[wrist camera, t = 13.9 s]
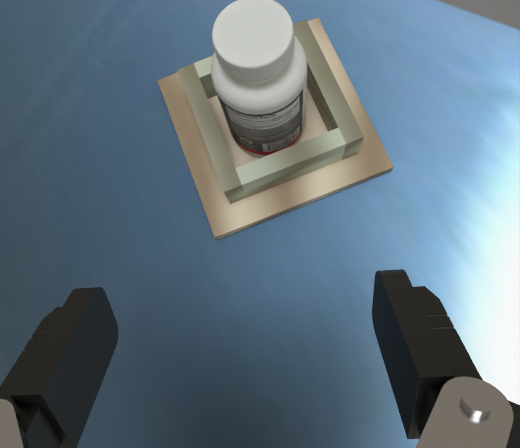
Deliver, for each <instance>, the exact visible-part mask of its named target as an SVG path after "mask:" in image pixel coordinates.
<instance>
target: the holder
mask: <svg viewBox="0 0 520 448" xmlns="http://www.w3.org/2000/svg"><path fill="white" fill-rule="evenodd" d="M293 29H294V36H295V37H296V38H297V39H298V40H299V42H300V43H301V45H302V47H303V49H304V52H305V55H306V59H307V85H306V115H305V127H304V131H303V134H302V136H301V138H300V140H299V141H298V143H297V144H295V145H293V146H290V147H288V148H285V149H283V150H280V151H278V152H275V153H273V154H270V155H268V156H265V157H262V158H261V157H255V156H252V155H250V154H248V153H247V152H245V151H244V150H242V149H241V148H240V147H239V146H238V145H237V144H236V142H235V141H234V139H233V137H232V135H231V132H230V130H229V127H228V124H227V121H226V118H225V115H224V112H223V110H222V107H221V104H220V102H219V99H218V96H217V94H216V91H215V89H214V86H213V82H212V77H211V62H212V57H213V56H211V57H208V58H206V59H203V60H201V61H198V62H195V63H193V64H190V65H188V66H185V67H183V68H180V69H178V70H177V71H178V73H175V74H173V75H170V76H168V77H165V78H163V79H160V80H158V83H159V86H160V89H161V91H162V94H163V97H164V100H165V102H166V105H167V108H168V111H169V113H170V116H171V119H172V122H173V124H174V127H175V130H176V133H177V135H178V138H179V141H180V144H181V146H182V149H183V152H184V155H185V157H186V160H187V163H188V166H189V168H190V171H191V174H192V177H193V179H194V182H195V185H196V188H197V190H198V193H199V196H200V199H201V201H202V204H203V207H204V210H205V212H206V215H207V218H208V221H209V223H210V226H211V229H212V232H213V234H214V237H215V238H216V239H217V240H218V239H221V238H223V237H226V236H228V235H231V234H233V233H236V232H238V231H241V230H243V229H246V228H248V227H251V226H253V225H256V224H258V223H261V222H264V221H266V220H269V219H271V218H274V217H276V216H279V215H281V214H284V213H286V212H289V211H291V210H294V209H296V208H299V207H302V206H304V205H307V204H309V203H312V202H314V201H317V200H319V199H322V198H324V197H327V196H329V195H332V194H334V193H337V192H339V191H342V190H345V189H347V188H350V187H352V186H355V185H357V184H360V183H362V182H365V181H367V180H370V179H372V178H375V177H377V176H380V175H382V174H385V173H388V172H390V171H391V170H392V169H393V165H392V163H391V161H390V159H389V157H388V155H387V153H386V151H385V149H384V147H383V145H382V143H381V141H380V139H379V137H378V135H377V133H376V131H375V129H374V127H373V125H372V123H371V121H370V119H369V117H368V115H367V113H366V111H365V109H364V107H363V105H362V103H361V102H360V100H359V98H358V96H357V94H356V92H355V90H354V88H353V86H352V84H351V82H350V80H349V78H348V76H347V74H346V72H345V70H344V68H343V66H342V64H341V62H340V60H339V58H338V56H337V54H336V52H335V50H334V48H333V46H332V44H331V42H330V40H329V38H328V36H327V34H326V32H325V30H324V28H323V26H322V24H321V22H320V20H319V18H316V19H313V20H311V21H308V22H307V20H306V19H305V20H302V21H300V22H297V23H295V24H293Z"/></svg>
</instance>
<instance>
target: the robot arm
mask: <svg viewBox="0 0 520 448" xmlns="http://www.w3.org/2000/svg"><path fill="white" fill-rule="evenodd" d="M372 318H373V326H374V331H375V334H376V337H377V341H378V344H379V347H380V350H381V354H382V357H383V360H384V363H385V367H386V370H387V373H388V376H389V380H390V383H391V386H392V390H393V393H394V396H395V399H396V403H397V406H398V409H399V412H400V416H401V419H402V422H403V425H404V429H405V432H406V435H407V439H419V438H420V439H419V441H418V444H417V446H416V448H520V405H518V404H515V403H513V402H510V401H508V400H507V399H506V397H505V396H504V395H503V394H502V393H501V392H500V391H499V390H498V389H496V388H495V387H494V386H492V385H491V384H489V383H487V382H485V381H483V380H482V378H481V376H480V375H479V373H478V371H477V369H476V367H475V365H474V363H473V362H472V360H471V358H470V356H469V354H468V352H467V350H466V348H465V346H464V345H463V343H462V341H461V339H460V337H459V335H458V333H457V331H456V330H455V329H454V326H453V324H452V322H451V320H450V318H449V317H447V313H446V311H445V309H444V307H443V305H442V303H441V301H440V299H439V298H438V297H437V296H435V295H434V294H433V293H432V292H431V291H430V290H428V289H427V288H426V287H425V286H422V287H412V285H411V282H410V280H409V278H408V276H407V274H406V272H405V271H404V270H403V269H401V270H384V271H377V272H376V274H375V283H374V295H373V306H372ZM32 336H33V338H32V339H30V340H29V342H28V343H27V345H26V347H25V351H22V353H21V355H20V356H19V358H18V359H17V361H16V363H15V364H14V366H13V367H12V369H11V371H10V372H9V374H8V375H7V377H6V379H5V380H4V382H3V383H2V385H1V386H0V448H77V445H78V443H79V440H80V437H81V435H82V432H83V430H84V427H85V425H86V422H87V419H88V417H89V414H90V412H91V409H92V407H93V404H94V401H95V399H96V396H97V394H98V391H99V389H100V386H101V383H102V381H103V378H104V376H105V373H106V371H107V368H108V365H109V363H110V360H111V358H112V355H113V353H114V350H115V347H116V345H117V341H118V325H117V322H116V319H115V317H114V314H113V311H112V309H111V306H110V303H109V301H108V298H107V296H106V293H105V291H104V289H103V288H101V287H96V288H80V289H74V290H73V291H72V292H71V294H70V295H69V297H68V299H67V300H66V302H65V304H64V305H63V307H57V308H55V309H54V310H53V311H52V312H51V313H50V314H49V315H48V316H47V317H45V318H44V319H43V320H42V321H41V323H40V324H39V326H38V327H37V329H36V331H35V332H34V334H33V335H32Z"/></svg>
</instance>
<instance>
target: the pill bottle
mask: <svg viewBox="0 0 520 448" xmlns="http://www.w3.org/2000/svg"><path fill="white" fill-rule="evenodd" d="M212 40H213V46H214V50H215V52H214V54H213V57H212V62H211V77H212V82H213V86H214V89H215V91H216V94H217V96H218V99H219V102H220V104H221V107H222V110H223V112H224V115H225V118H226V121H227V124H228V127H229V130H230V132H231V135H232V137H233V139H234V141H235V142H236V144H237V145H238V146H239V147H240V148H241V149H242V150H244V151H245V152H247V153H248V154H250V155H252V156H255V157H261V158H262V157H265V156H268V155H270V154H273V153H275V152H278V151H280V150H283V149H285V148H288V147H290V146H293V145H295V144H297V143H298V141H299V140H300V138H301V136H302V134H303V131H304V127H305V115H306V85H307V59H306V55H305V52H304V49H303V47H302V45H301V43H300V42H299V40H298V39H297V38H296V37H295V36H294V29H293V24H292V20H291V17H290V15H289V14H288V12H287V11H286V10H285V8H284V7H283V6H281V5H280V4H279V3H277V2H275V1H274V0H237V1H235V2H233V3H231V4H230V5H228V6H227V7H226V8H225V9H224V10H223V11H222V12H221V13H220V14H219V16H218V17H217V19H216V21H215V23H214V26H213V31H212Z"/></svg>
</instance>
